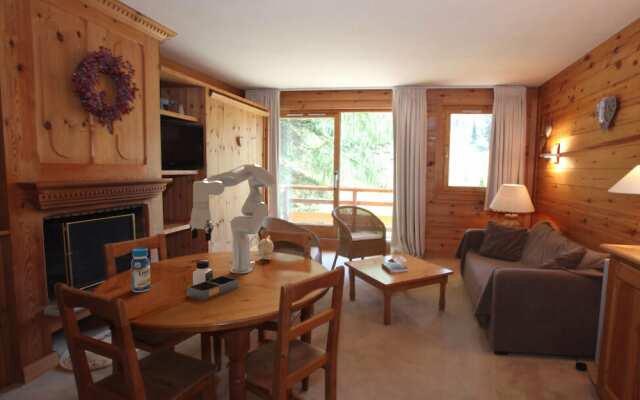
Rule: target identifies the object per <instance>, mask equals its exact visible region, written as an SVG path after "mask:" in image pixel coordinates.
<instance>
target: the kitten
mask: <svg viewBox="0 0 640 400" xmlns="http://www.w3.org/2000/svg"><path fill="white" fill-rule="evenodd" d="M274 247H275V246H274V243H273V241H272V240H271V235H268V236H267V237H265V238H263V239H260V241H259V242H258V244H257V249H258V252H259V253H260V260H261V259H262V260H263V261H267V260H271V258H272V252H273V251H274Z"/></svg>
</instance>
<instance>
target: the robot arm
mask: <svg viewBox="0 0 640 400" xmlns="http://www.w3.org/2000/svg"><path fill="white" fill-rule="evenodd" d="M245 181H247V182H248V186H249V193H248V196H247V197H246V199H245V200H244V203H243V205H242V207H241V209H240V212H241V215H237V216H234V217H233V218H232V219H231V221H230V230H231V234H232V267H230V269H229V270H230V273H232V274H237V275H239V274H247V273H248V274H249V273H251V272H253V267H252V266H253V265H255V264H256V262H255V261H254V260H253V261H251V256H250V255H251V254H250V253H251V251H250V250H251V249H250V248H251V247H250V245H251V243H250V241H251V240H250V237H249V235H256V234H257V233H259V231H260V230H261V227H262V226H263V223H264V222H265V220H266V218H267V216H268V212H269V209H268V205H267V203H266V202H264V201H263V200H264V192H263V191H262V188H271V187H272V186H273V185H274V183H275V176H274V175H273V173H272V172H270V171H269V170H267V169H265V168H264V167H263V166H261V165H259V164H247V163H246V164H242V165H239V166H238V167H234V168H233V169H231V170H228V171H225V172H222V173H218V174H213V175H211V176H208V177H205V178H203V179H202V180H195V181H194V182H193V185H192V186H193V189H192V197H193V198H192V202H193V204H192V209H191V214H190V215H191V216H190V220H189V221H188V225H189V229H190V231H191V239H193V240H195V239H198V236H199V234H198V233H199V232H198V230H204V231H205V233H204V236H205V237H204V239H205V240H204V241H205V242H210V241H212V233H213V230H214V228H215V223H213V222H212V216H211V215H212V214H211V210H210V196H220V195H222V194H223V193H224V192H225V188H230V187H234V186H237V185H239V184H241V183H242V182H245Z"/></svg>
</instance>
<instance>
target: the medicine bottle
mask: <svg viewBox="0 0 640 400" xmlns="http://www.w3.org/2000/svg"><path fill="white" fill-rule="evenodd" d="M195 266H196V269H195V271H192V286H193V285H196V284H199V283H202V282H205V281H208V280H211V279H214V278H213V269H212V268H210V261H208V260H206V259H202V260H201V259H200V260H198V261H196V265H195Z"/></svg>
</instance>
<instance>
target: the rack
mask: <svg viewBox="0 0 640 400" xmlns="http://www.w3.org/2000/svg"><path fill="white" fill-rule="evenodd" d="M238 288H239V279H238V278H234V277H231V276H226V275H219V276H217V277H214V278H213V279H211V280H208V281H205V282H202V283H199V284H196V285H193V284H192V285H190V286H187V287H186V297H189V298H192V299H195V300H198V301H199V300H200V301H202V302H205V301H207V300H210V299H212V298H215V297H218V296H220V295H222V294H225V293H228V292H230V291H232V290H235V289H238Z"/></svg>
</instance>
